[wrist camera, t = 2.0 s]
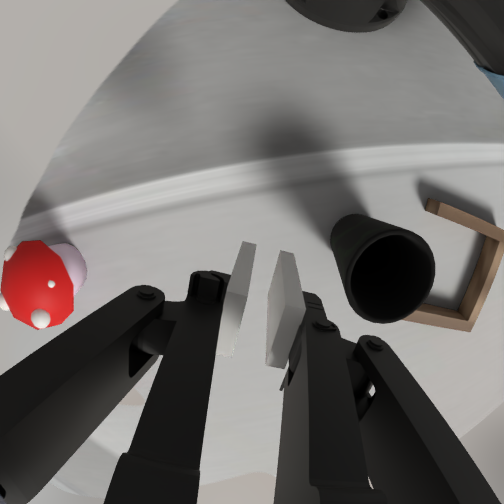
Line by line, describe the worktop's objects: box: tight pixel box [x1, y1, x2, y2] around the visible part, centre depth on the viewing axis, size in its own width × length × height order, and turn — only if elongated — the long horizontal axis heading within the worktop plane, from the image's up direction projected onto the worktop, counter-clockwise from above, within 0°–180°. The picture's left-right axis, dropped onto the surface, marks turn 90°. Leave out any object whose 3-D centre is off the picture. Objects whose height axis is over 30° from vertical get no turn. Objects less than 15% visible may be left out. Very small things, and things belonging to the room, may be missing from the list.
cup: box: [330, 214, 435, 324], centre depth 27 cm, size 8×8×12 cm
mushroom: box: [0, 240, 87, 330], centre depth 30 cm, size 11×11×12 cm
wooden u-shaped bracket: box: [401, 198, 504, 332], centre depth 32 cm, size 14×12×3 cm
